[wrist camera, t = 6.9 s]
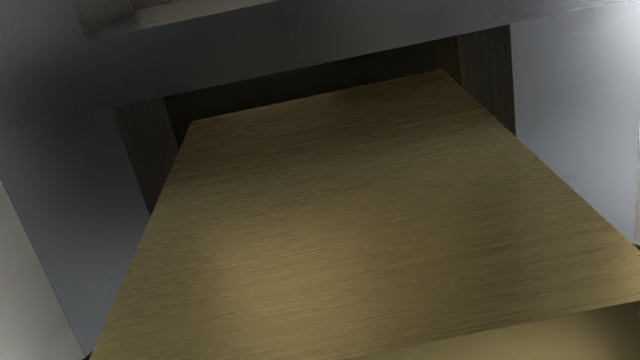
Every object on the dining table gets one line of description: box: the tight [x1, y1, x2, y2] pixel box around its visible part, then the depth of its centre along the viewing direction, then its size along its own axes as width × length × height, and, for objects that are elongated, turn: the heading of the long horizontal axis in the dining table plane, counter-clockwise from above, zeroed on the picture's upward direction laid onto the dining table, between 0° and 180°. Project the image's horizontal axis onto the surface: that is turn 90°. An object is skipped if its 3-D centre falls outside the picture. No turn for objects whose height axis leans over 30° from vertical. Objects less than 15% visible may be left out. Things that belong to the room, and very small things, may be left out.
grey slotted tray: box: [0, 0, 640, 357], centre depth 11 cm, size 10×24×3 cm, turn 11°
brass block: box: [89, 69, 640, 360], centre depth 8 cm, size 4×4×6 cm
